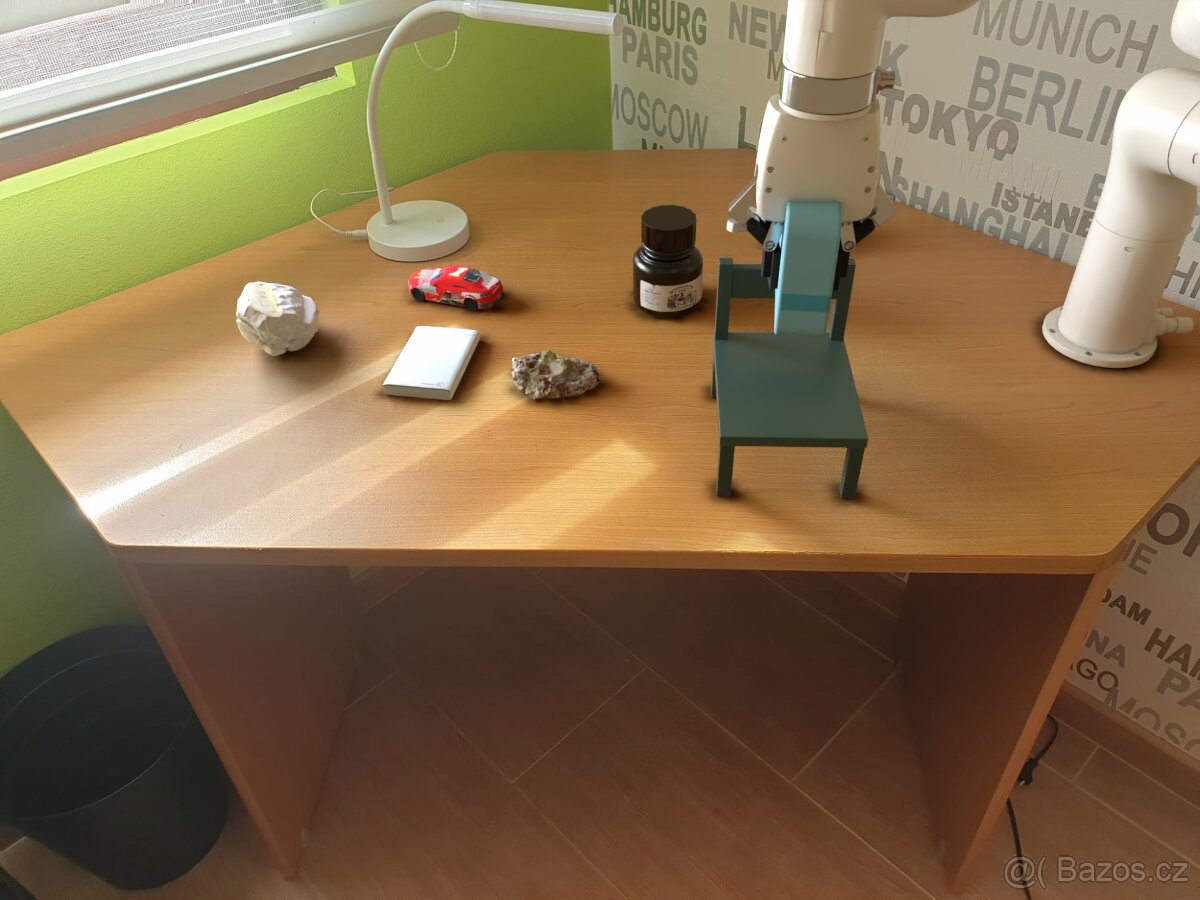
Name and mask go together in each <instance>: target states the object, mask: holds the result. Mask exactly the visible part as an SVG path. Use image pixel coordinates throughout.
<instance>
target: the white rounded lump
mask: <svg viewBox="0 0 1200 900" xmlns="http://www.w3.org/2000/svg"><path fill="white" fill-rule="evenodd" d="M236 305H237V306H236V313H235V316H236V317H235V318H236V320H235V323H236V325H237V327H238V330H239V332H240V334H241V335H242V337H243V338H244V340H246V341H247V342H249V343H252V344H256V345H258V347H259V348H260V349H261V350H263V352H266V354H268V355H270V356H273V357H277V356H281V355H284V354H285V353H287V352H288V351H289V352H295V351H297V352H298V351H299V350H301V349H303V348H305V347H306V346H307V345H308V344H309V343H310V342H311V340H312V339H313V337H314V336H316V333H318V332H319V330H320V327H319V323H318V321H319V315H320V309H319V308H318V306H317V304H316V303H315V302H314V301H313V299H312V297H310V296H307V295H304V294H302V293H301V292H300V290H298V289H297V288H296V287H294V286H293V287H292V286H289V285H285V284H281V283H275V282H273V283H268V282H265V281H255V282H249V283H247V284H246V285H245V286H244V288H243V290H242V292H241V295H240V296H239V298H238V299H237V304H236Z"/></svg>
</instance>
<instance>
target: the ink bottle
mask: <svg viewBox="0 0 1200 900" xmlns="http://www.w3.org/2000/svg"><path fill="white" fill-rule="evenodd" d="M640 218H641V219H640V223H641V226H640V227H641V228H640V229H641V230H640V236H641V237H640V238H641V242H640V243H641V245H640V246H639V247H638V248H637V249H636V250H635V251H634V254H633V257H632V300H633V303H634V305H635V306H636V307H637V309H638V310H640V311H641V312H642V313H645V314H646V315H648V316H652V317H655V318H676V317H682V316H685V315H688V314H690V313H692V312H694V311H695V310H697V309H698V308H699V306H700V305H701V302H702V296H703V281H704V279H703V278H704V269H703V268H704V259H703V254H702V253H701V251H700V250H699V248H698V247H696V240H697V214H696V213H695V212H694V211H693V210H692V209H689V208H687V207H685V206H683V205H675V204H661V205H656V206H652V207H650V208H649V209H646V210H644V212H642V214H641V216H640Z"/></svg>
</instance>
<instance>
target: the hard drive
mask: <svg viewBox="0 0 1200 900" xmlns="http://www.w3.org/2000/svg"><path fill="white" fill-rule="evenodd" d="M480 335H481V334H480V331H479V330H477V329H467V328H455V327H454V328H453V327H441V326H428V325H427V326H425V325H418V326H416V327H415V329H414V330H413V332H412V334H411V336H410V337H409V339H408V341H407V342H406V344H405V346H404V348H403V349H402V351H401V353H400V354H399V356H398V358H397V360H396V361H395V363H394V365H393V367H392V368H391V370H390V372H389V373H388V375H387V377H386V378H385V380H384V382H383V384H382V389H383V393H384V394H386V395H390V396H401V397H411V398H420V399H421V398H422V399H433V400H443V401H450V400H452V399H453V397H454V394H455V392H456V390H457V388H458V387H459V384H460V382H461V380H462V378H463V376H464V374H465V372H466V369H467V368H468V364H469V363H470V361H471V359H472V357H473V355H474V352H475V351H476V348H477V346H478V344H479V342H480V340H481V336H480Z"/></svg>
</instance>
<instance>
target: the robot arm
mask: <svg viewBox="0 0 1200 900" xmlns="http://www.w3.org/2000/svg"><path fill="white" fill-rule="evenodd" d="M787 1H788V2H787V9H786V11H787V12H786V21H785V29H784V30H785V32H784V41H783V42H784V43H783V51H782V61H781V62H782V63H781V73H780V82H779V92H778V93H775V94H773V95H771V96H770V97H769V99H768V101H767V104H766V107H765V108H766V109H765V111H764V116H763V120H762V124H761V129H760V134H759V141H758V146H757V152H756V160H755V168H754V176H753V177H752V178H751V179H750V180H749V182H747V183H746V185H745V186H744V187H743V188H742V189H741V190H740V191H739V193H737V194H736V196H735V197H734V198H733V199H732V200H731V201H730V202H729V203H728V204H727V213H728V216H729V217H730V219H731V218H732V219H734V220H735V221H736V222H738V223H739V224H740V225H742V226H744V227H745V228H746V229H747V230H748V231H747V232H748V233H749V234H750V235H751V236H752V237H753V238H754V239H755V240H756V241H757V242H758V243H759V244H760V245H761V246H762V255H761V256H762V257H761V264H762V265H761V275H762V277H768V283H769V290H775V289H777V288H778V279H779V270H780V260H781V248H780V243H779V239H780V237H781V234H782V232H783V230H784V223H785V217H786V208H787V203H788V202H789V201H810V202H823V201H839V202H840V203H841V214H842V226H841V237H840V244H839V250H838V257H837V263H836V270H835V277H834V283H833V290H832V291H838V289H839V282H840V278H846V275H847V269H848V263H849V258H850V257H851V252H853V251H854V250H855V249H856V247H857V244H858V243H860V242H862V241H863V239H865V238H866V237H868V236H869V235H870V234H872V233H873V231H874V230H876V228H877V227H881V226H882V225H883V224H886V223H887V222H888V221H890V220H892V219H893V218H894V217H895V216H896V215H897V209H896V206H895V204H894V202H893V201H892V199H891V198H890V196H889V195H888V193H887V192H886V190H885V189H884V187H883V186H882V185H881V183H880V181H879V180H878V177H879V176H878V175H879V167H880V166H879V165H880V151H881V129H882V128H881V126H882V125H881V107H880V100H879V98H878V97H877V95H879V92H880V91H884V90H890V89H891V90H893V89H894V87H895V81H896V73H895V71H894V70H886V69H885V68H881V66H880V65H879V64H880V60H881V53H882V48H883V47H882V46H883V41H884V35H885V27H886V22H887V20H889V19H890V18H941V17H949V16H954V15H956V14H960V13H962V12H964V11H966V10H968V9H970V8H971V7H974V6H975V5H976V4H978V3H979V2H980V1H981V0H787ZM1171 19H1172V20H1171V25H1170V37H1171V40H1172V43H1173V44H1174V45H1175V46H1176V48H1178V49H1179V50H1180V51H1181V52H1183V53H1185V54H1187V55H1189V56H1191V57H1193V58H1196V59H1198V60H1200V0H1178V1H1177V4H1176V5H1175V9H1174V13H1173V16H1172V18H1171ZM1103 184H1104V185H1103V186H1102V190H1101V194H1100V196H1099V200H1098V203H1097V206H1096V209H1095V212H1094V214H1093V217H1092V220H1091V223H1090V225H1089V228H1088V232H1087V235H1086V237H1085V241H1084V244H1083V247H1082V249H1081V252H1080V256H1079V259H1078V262H1077V264H1076V267H1075V271H1074V273H1073V276H1072V280H1071V282H1070V285H1069V288H1068V291H1067V294H1066V297H1065V300H1064V303H1063V305H1062V306H1059V307H1056V308H1054V309H1053V310H1051V311H1049V312H1048V313H1047V314H1046V315H1045V317H1044V319H1043V323H1042V326H1041V328H1042V329H1041V330H1042V331H1041V332H1042V336H1043V337H1044V339H1045V340H1046V341H1047V343H1048V345H1050V346H1051V347H1052V348H1054V350H1055V351H1057V352H1059V353H1060V354H1062V355H1063V356H1065V357H1067V358H1069V359H1071V360H1074V361H1077V362H1079V363H1083V364H1086V365H1090V366H1093V367H1099V368H1108V369H1109V368H1110V369H1124V368H1133V367H1136V366H1139V365H1142V364H1145V363H1147V361H1150V359H1151V358H1152V357H1153V356H1154V354H1155V352H1156V349H1157V347H1158V338H1157V337H1162V336H1163V335H1164V334H1167V333H1169V334H1190V333H1192V331H1193V329H1194V319H1193V318H1192V317H1190V316H1173V315H1174V310H1173V308H1171V307H1159V308H1158V306H1159V303H1160V301H1161V299H1162V297H1163V294H1164V292H1165V289H1166V287H1167V284H1168V281H1169V280H1170V277H1171V274H1172V272H1173V270H1174V268H1175V265H1176V262H1177V260H1178V258H1179V255H1180V253H1181V250H1182V248H1183V245H1184V244H1185V241H1186V238H1187V236H1188V233H1189V232H1190V229H1191V227H1192V224H1193V222H1194V219H1195V216H1196V212H1197V206H1198V188H1199V189H1200V70H1196V69H1191V68H1186V67H1177V66H1176V67H1174V66H1173V67H1164V68H1160V69H1156V70H1154V71H1151V72H1149V73H1147V74H1145V75H1143V76H1142V77H1141V78H1139V80H1137V81H1136V82H1135V83H1134V84H1133V85H1132V86H1131V87H1130V88H1129V90H1128V91H1127V92H1126V94H1125V95H1124V96H1123V98H1122V101H1121V102H1120V104H1119V107H1118V110H1117V112H1116V117H1115V121H1114V126H1113V133H1112V141H1111V152H1110V158H1109V164H1108V168H1107V173H1106V176H1105V182H1104V183H1103ZM754 204H756V209H757V214H758V215H757V214H756V213H753V212H751V210H750V209H749V208H750V206H753V205H754ZM760 217H761V218H762V219H765V221H763V220H762V219H761V218H760Z"/></svg>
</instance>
